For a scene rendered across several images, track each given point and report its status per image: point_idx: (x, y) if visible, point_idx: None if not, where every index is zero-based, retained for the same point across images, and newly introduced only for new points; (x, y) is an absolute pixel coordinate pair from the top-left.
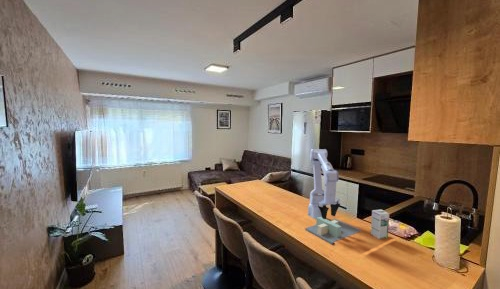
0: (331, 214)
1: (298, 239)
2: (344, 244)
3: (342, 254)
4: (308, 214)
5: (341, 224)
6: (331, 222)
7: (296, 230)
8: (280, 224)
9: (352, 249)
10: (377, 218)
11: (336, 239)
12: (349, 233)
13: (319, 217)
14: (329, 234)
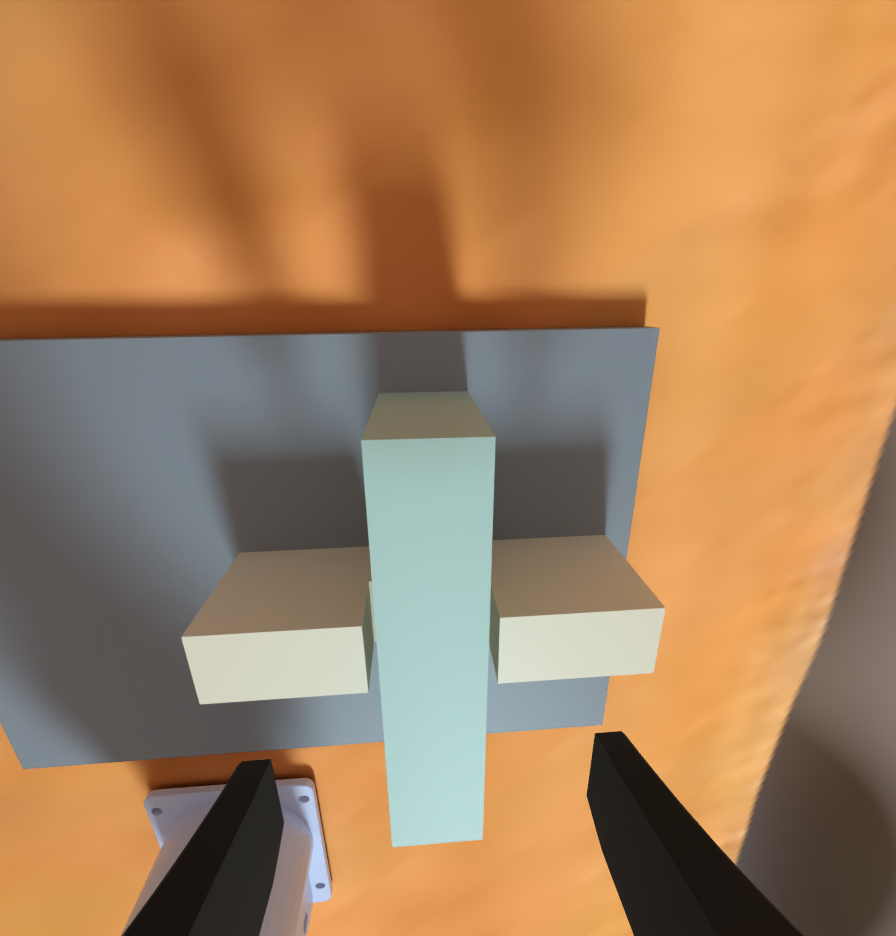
0: (278, 839)
1: (834, 594)
2: (485, 231)
3: (773, 41)
4: (308, 918)
5: (61, 628)
6: (405, 642)
7: (680, 727)
8: None
9: (509, 44)
10: None
11: (520, 358)
12: (161, 385)
13: (432, 831)
14: None
